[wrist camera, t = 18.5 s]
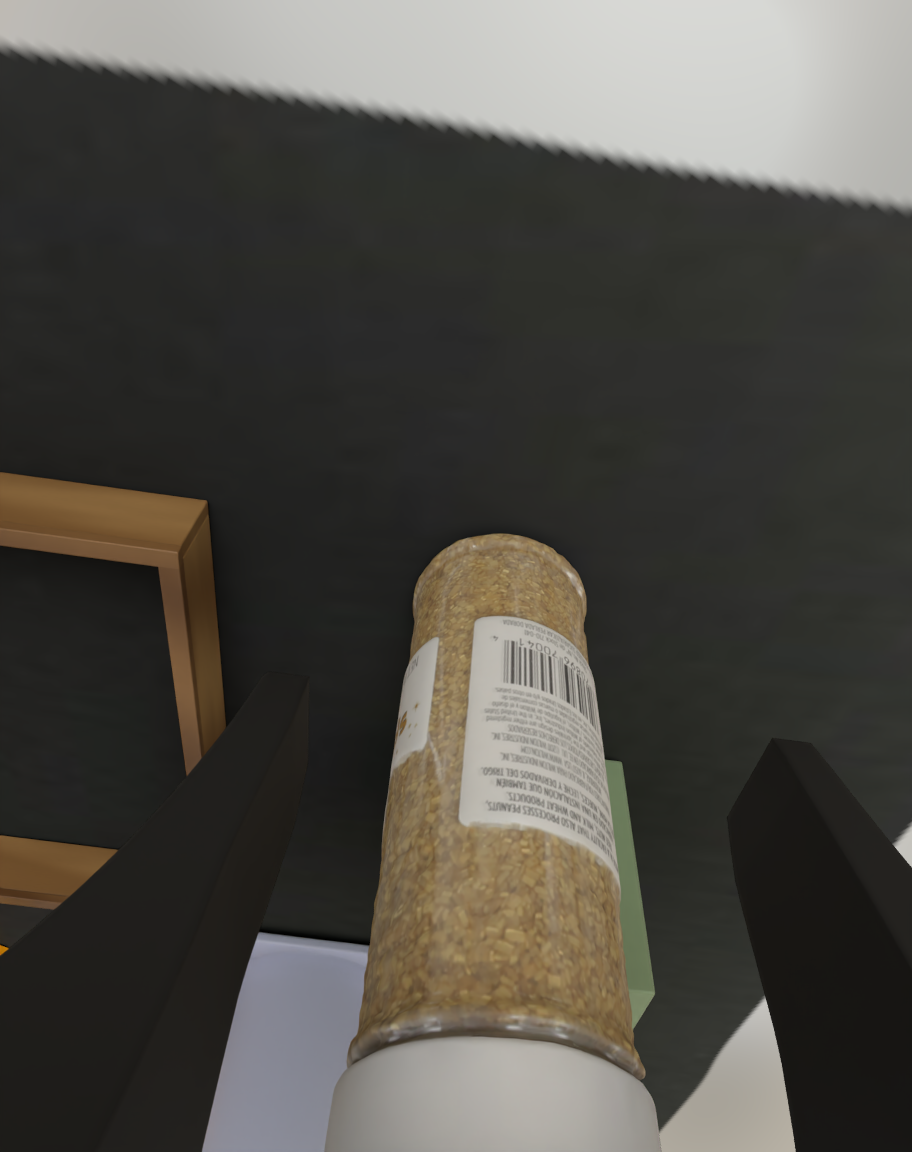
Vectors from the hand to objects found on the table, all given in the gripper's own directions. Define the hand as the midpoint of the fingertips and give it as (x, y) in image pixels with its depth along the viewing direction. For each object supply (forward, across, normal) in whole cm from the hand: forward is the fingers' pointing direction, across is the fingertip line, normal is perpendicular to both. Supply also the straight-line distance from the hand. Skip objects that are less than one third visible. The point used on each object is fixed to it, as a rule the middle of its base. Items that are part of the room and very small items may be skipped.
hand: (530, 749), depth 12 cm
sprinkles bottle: (+8, 0, +3) cm, 9 cm away
